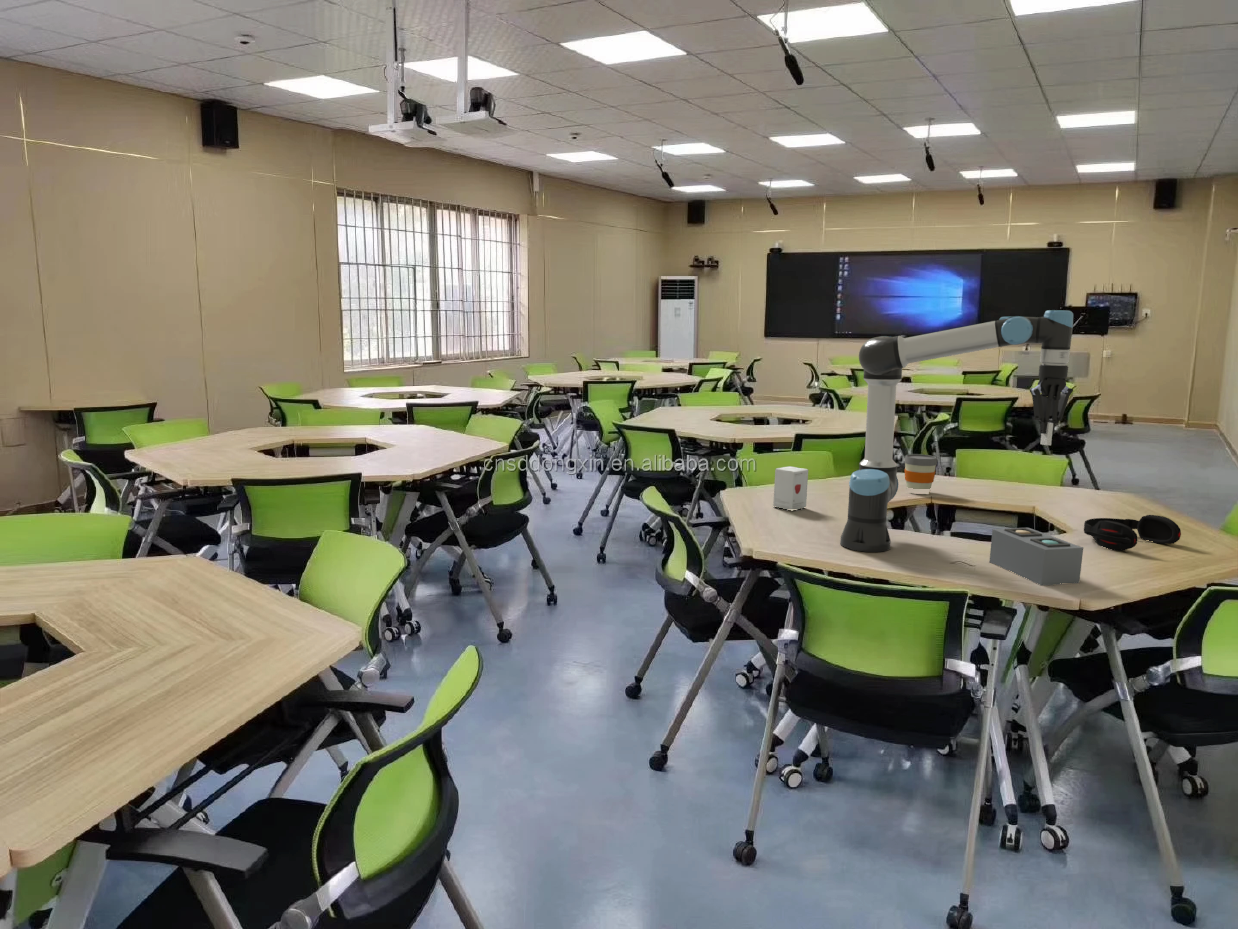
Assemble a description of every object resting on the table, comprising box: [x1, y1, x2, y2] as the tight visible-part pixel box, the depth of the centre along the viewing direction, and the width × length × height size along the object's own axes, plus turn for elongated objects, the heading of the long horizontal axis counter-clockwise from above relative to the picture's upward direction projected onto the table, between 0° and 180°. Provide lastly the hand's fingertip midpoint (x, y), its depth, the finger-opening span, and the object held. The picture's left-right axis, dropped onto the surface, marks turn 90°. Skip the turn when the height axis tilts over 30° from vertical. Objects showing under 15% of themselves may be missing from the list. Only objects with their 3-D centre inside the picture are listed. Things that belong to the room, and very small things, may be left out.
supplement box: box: [772, 466, 809, 509], centre depth 315 cm, size 9×9×15 cm
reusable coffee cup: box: [903, 453, 938, 489], centre depth 346 cm, size 13×13×15 cm
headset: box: [1083, 514, 1182, 552], centre depth 271 cm, size 28×26×9 cm
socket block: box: [988, 527, 1084, 586], centre depth 240 cm, size 22×12×10 cm, turn 13°
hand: (1045, 444), depth 250 cm, fingers closed
